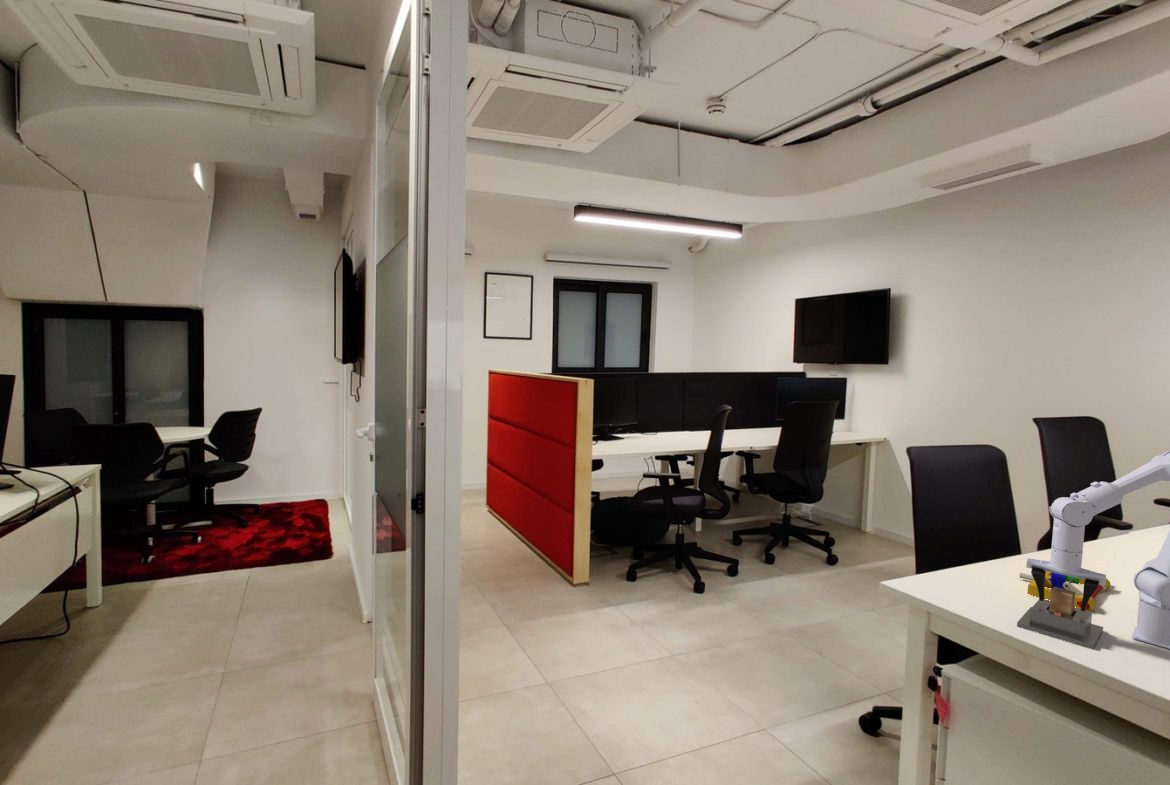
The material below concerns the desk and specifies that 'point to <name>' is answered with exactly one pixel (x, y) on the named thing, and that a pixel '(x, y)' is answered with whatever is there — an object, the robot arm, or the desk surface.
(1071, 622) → the metal sleeve
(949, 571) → the desk surface
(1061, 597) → the oak post
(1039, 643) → the desk surface
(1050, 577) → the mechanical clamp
